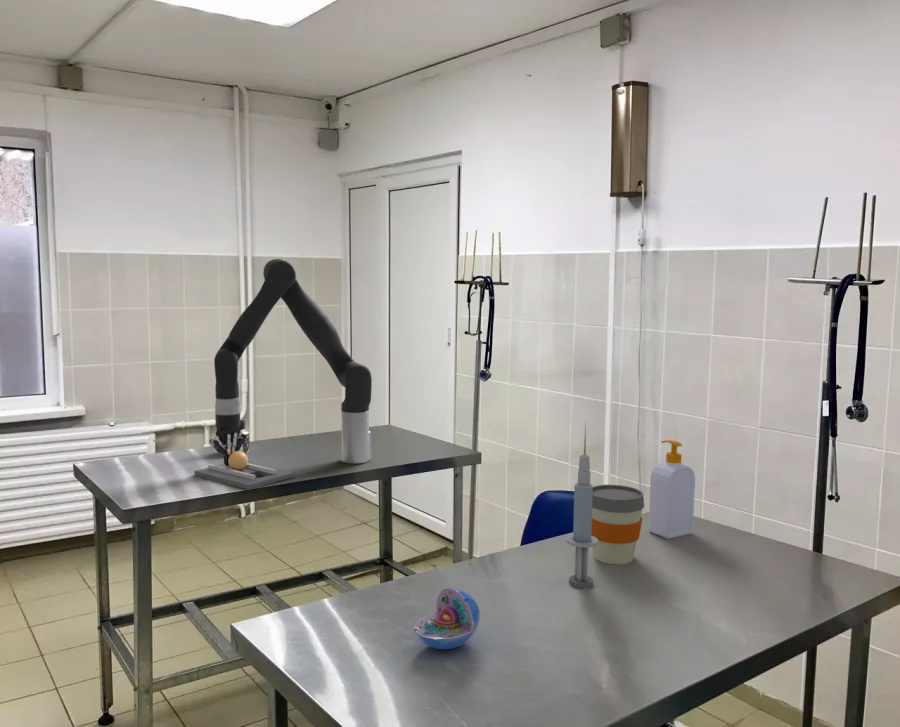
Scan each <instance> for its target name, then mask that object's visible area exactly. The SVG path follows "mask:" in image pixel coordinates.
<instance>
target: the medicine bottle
mask: <svg viewBox="0 0 900 727" xmlns="http://www.w3.org/2000/svg"><path fill="white" fill-rule="evenodd" d="M245 423H246V422H245V420H244V419H241V418H240V426H239V428H240V430H241V433H243V434H246V435H247V437H246V439H245V441H244V442H243V444H242V446H241V448H240V450H239V451H241V452H244V453H246V454H247V453H249V452H250V432H249V431H246V424H245Z"/></svg>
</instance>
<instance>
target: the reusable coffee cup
mask: <svg viewBox="0 0 900 727" xmlns="http://www.w3.org/2000/svg"><path fill="white" fill-rule="evenodd" d="M644 501H645V499H644V492H643V491H642V490H640V489H638V488H635V487H632V486H626V485H622V484H620V485H619V484H600V485H599V484H598V485H593V496H592V529H591V536H594V537H596V538H597V539H598V544H597V545H596V546H594V547H591V548H592V557H593V558H594V559H595V560H597V561H598V562H601V563H605V564H609V565H625V564H629V563H631V562H633V561H634V559H635V558H634V557H635V552H636V548H637V547H636V546H637V542H638V540H639V539H640V534H641V531H642V530H641V528H642V524H643V523H642V522H643V517H642V513H643V509H644V508H645V502H644Z"/></svg>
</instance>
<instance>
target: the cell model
mask: <svg viewBox="0 0 900 727" xmlns="http://www.w3.org/2000/svg"><path fill="white" fill-rule="evenodd" d="M435 609H436V612H434V613H430V614H428V615H426V616H424V617H422V618H420V619H419V620H418V621H417V622H416V623H415V624H414V627H413V628H414V629H413V630H414V632H415V634H416V636H417V638H418V639H419V640H420V641H421V642H422V643H423V644H424V645H426V646H428V647H430V648H432V649H437V650H452V649H455V648H458V647H460V646H463V645H464V644H465V643H467V642H468V641H470V639H471V638H472V637H473V635H474V634H475V633H476V631H477V628H478V626H479V622H480V618H481V612H480V607H479V604H478V602H477V601H476V599H475V598H474V596H472V595H471V594H470V593H468V591H465V590H463V589H461V588H457V587H445V588H443V589H441V590H440V591H439V593H438V595H437V597H436V603H435Z"/></svg>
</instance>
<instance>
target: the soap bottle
mask: <svg viewBox="0 0 900 727" xmlns="http://www.w3.org/2000/svg"><path fill="white" fill-rule="evenodd" d="M663 443H664V444H665V443H669V444H670V445H671V447H670V448H671V450H670V451H668V452H666V453H665V460H663V461H660V462H659V463H657V464H655V466H654V467H653V469H652V471H651V474H650V483H649V484H650V486H649V505H648V506H649V508H648V532H650V533H652V534H655V535H657V536H660V537H662V538H665V539H667V540H670V539H673V538H678V537H682V536H687V535H690V534H692V533H693V530H694V509H695V491H696V490H695V489H696V488H695V487H696V476H695V472H694V470H693V469H692V467H690V466H687V465H685V464H683V462H682V456H683V455H682V453H681V452H678V448H679V447H682V446H683V444H682V443H681V442H679V441H677V440H671V439H667V440H666V439H665V440H662V441H661V444H663Z"/></svg>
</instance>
